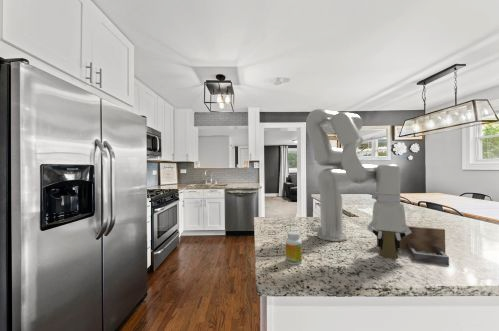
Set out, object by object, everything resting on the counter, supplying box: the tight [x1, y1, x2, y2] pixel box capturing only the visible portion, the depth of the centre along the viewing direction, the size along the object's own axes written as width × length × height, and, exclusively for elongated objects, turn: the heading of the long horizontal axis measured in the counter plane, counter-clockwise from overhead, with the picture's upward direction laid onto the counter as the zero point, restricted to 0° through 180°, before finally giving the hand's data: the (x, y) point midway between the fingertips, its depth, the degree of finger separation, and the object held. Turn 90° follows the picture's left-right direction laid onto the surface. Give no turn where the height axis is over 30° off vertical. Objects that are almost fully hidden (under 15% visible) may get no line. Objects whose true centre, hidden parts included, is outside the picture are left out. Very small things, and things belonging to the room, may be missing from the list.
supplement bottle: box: [285, 231, 303, 266], centre depth 80 cm, size 5×5×10 cm
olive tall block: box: [378, 231, 399, 260], centre depth 85 cm, size 6×6×11 cm
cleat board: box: [376, 225, 450, 266], centre depth 86 cm, size 22×13×9 cm, turn 66°
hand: (388, 249), depth 85 cm, fingers closed on olive tall block, 3 cm apart
